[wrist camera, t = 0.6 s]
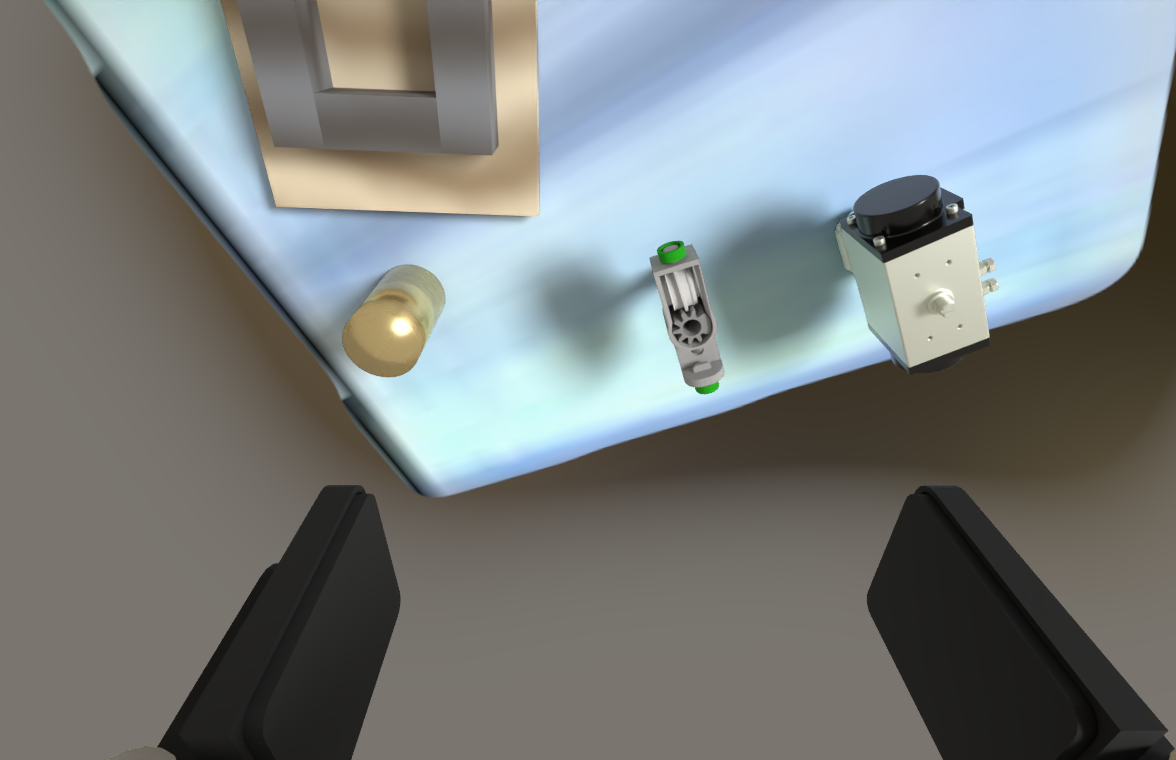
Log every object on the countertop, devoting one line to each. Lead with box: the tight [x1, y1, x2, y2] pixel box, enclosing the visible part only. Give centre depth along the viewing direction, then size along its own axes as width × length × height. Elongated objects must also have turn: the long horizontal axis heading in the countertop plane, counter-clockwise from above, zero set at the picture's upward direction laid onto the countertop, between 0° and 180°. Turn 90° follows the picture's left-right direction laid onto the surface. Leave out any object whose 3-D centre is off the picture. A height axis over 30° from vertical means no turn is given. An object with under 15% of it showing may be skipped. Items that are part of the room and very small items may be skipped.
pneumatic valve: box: [835, 175, 999, 375], centre depth 36 cm, size 6×12×12 cm, turn 28°
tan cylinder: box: [342, 265, 445, 377], centre depth 40 cm, size 5×5×8 cm
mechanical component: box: [650, 241, 724, 394], centre depth 38 cm, size 3×10×10 cm, turn 19°
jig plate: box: [221, 0, 540, 216], centre depth 32 cm, size 22×18×4 cm
